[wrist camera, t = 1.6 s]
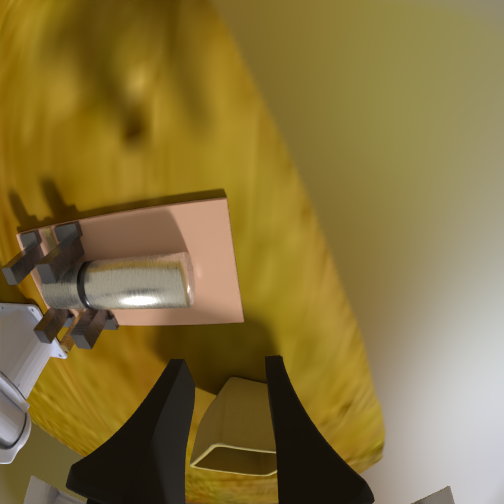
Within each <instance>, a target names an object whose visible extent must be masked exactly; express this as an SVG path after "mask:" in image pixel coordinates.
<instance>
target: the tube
mask: <svg viewBox="0 0 504 504" xmlns="http://www.w3.org/2000/svg"><path fill="white" fill-rule="evenodd" d="M41 292H42V296H43V298H44V300H45V302H46V303H47V304H48V305H49V306H50V307H51V308H55V309H90V310H119V309H169V308H190V307H191V306H192V305H193V302H194V297H195V277H194V270H193V265H192V261H191V258H190V256H189V254H188V253H187V252H179V253H168V254H158V255H147V256H136V257H126V258H115V259H105V260H92V261H84V262H76V263H75V264H74V265H73V266H72V267H71V268H70V269H69V270H68V271H67V272H66V273H65V274H64V276H63V277H62V278H61V279H60V280H59V281H58V282H57V283H49V284H43V282H42V280H41Z"/></svg>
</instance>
